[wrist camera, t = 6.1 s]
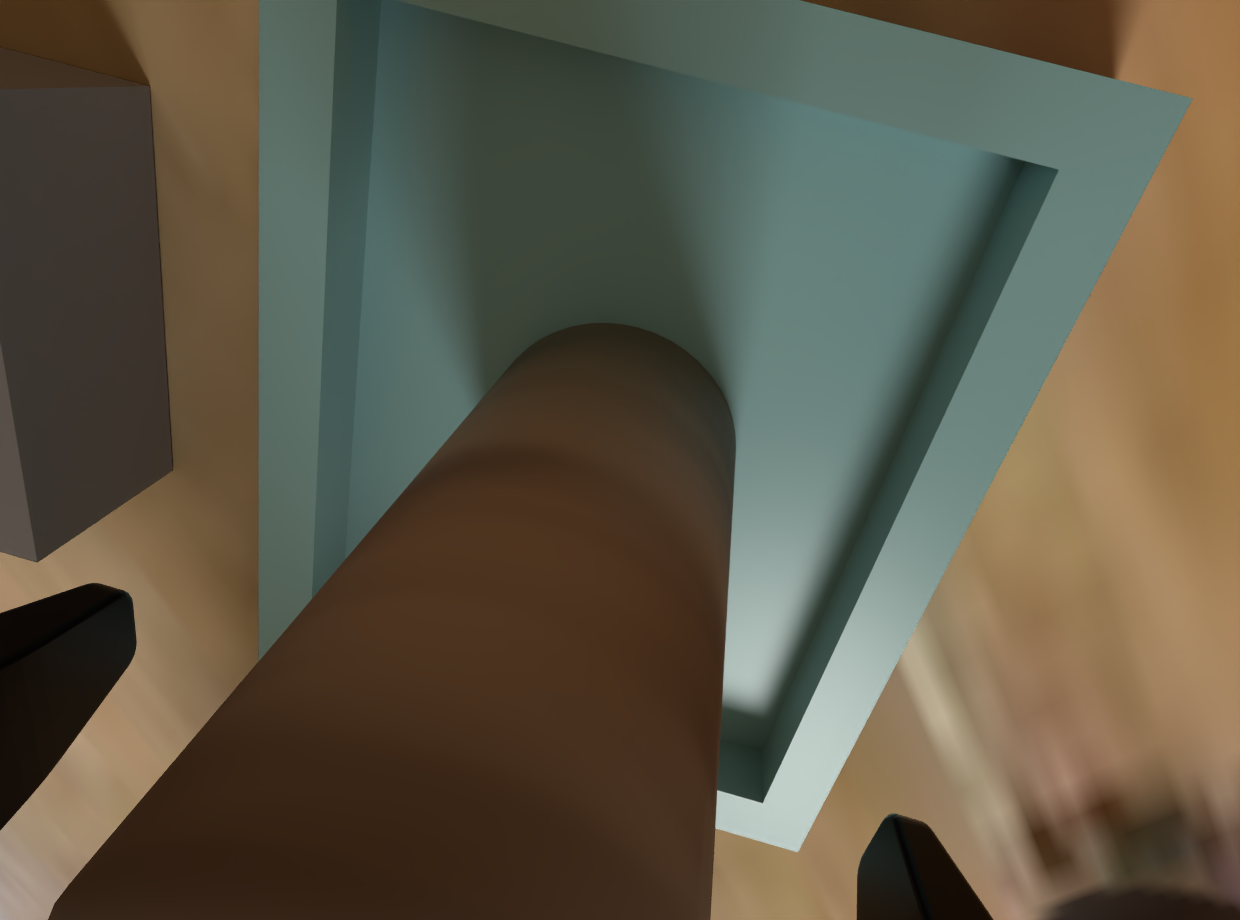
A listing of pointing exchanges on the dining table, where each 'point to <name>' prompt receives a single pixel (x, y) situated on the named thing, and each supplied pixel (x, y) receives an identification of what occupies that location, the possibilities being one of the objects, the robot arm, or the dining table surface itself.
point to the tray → (686, 291)
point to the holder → (76, 303)
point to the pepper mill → (481, 681)
